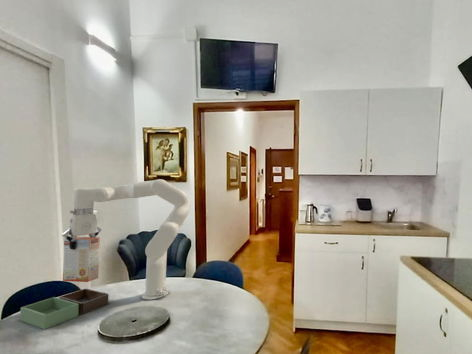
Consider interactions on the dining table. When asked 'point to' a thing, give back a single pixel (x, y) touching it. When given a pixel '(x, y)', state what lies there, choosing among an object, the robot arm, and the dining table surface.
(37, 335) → the dining table surface
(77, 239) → the cracker box
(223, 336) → the dining table surface
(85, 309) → the crate
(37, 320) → the bin
